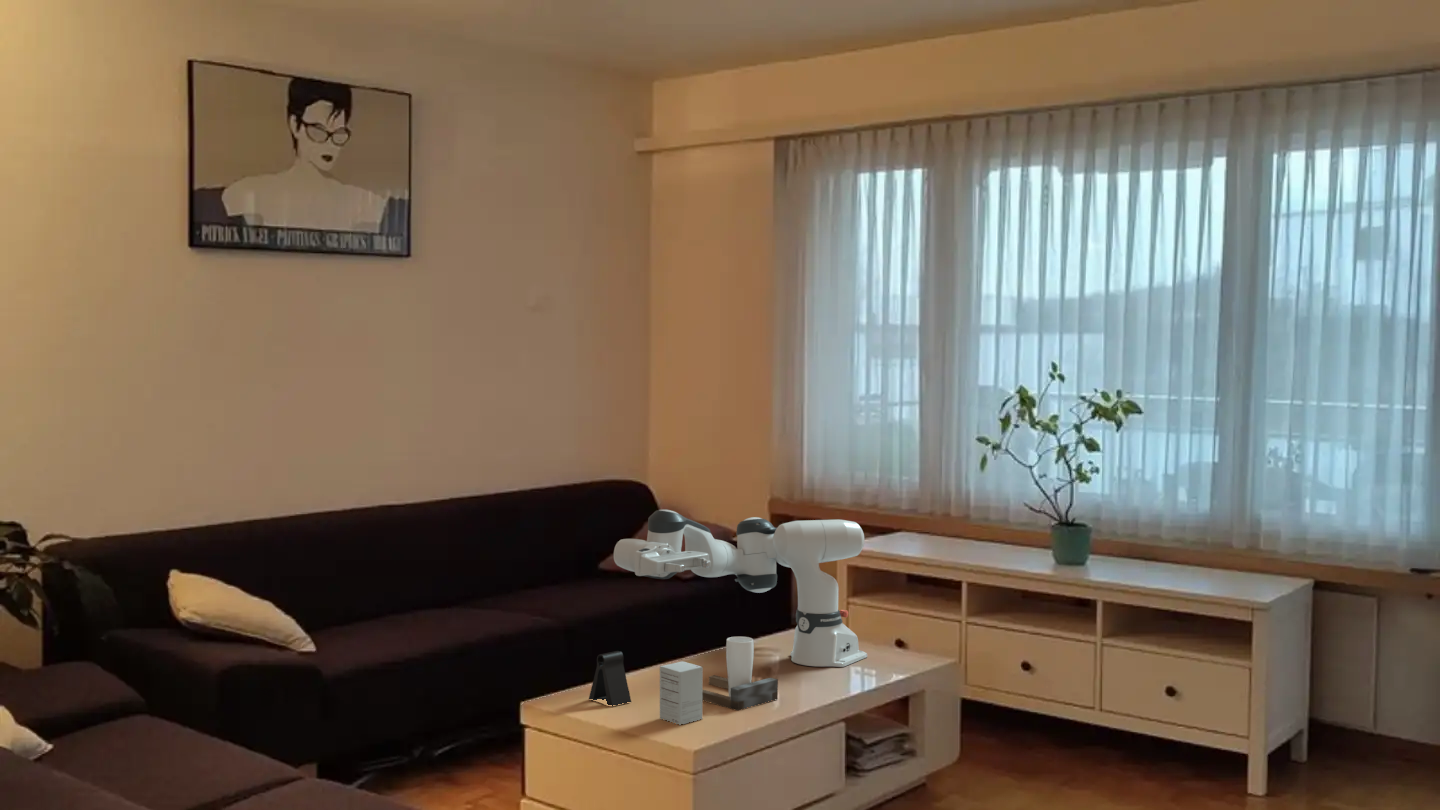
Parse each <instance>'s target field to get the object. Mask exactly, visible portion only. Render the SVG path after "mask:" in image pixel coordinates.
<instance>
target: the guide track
mask: <svg viewBox="0 0 1440 810" xmlns="http://www.w3.org/2000/svg"><path fill="white" fill-rule="evenodd" d="M778 681H779V680H778V679H776V678H773V677H768V678H764V679H760V680H756V681H751V683H748V684H744V685H740V686H736V687H732V688H731V697H729V695H725V694H721V693H719V692H714V691H710V690H706V689H703V688H702V701H703V700H704V701H703V702H706V701H707V703H710V702H711V703H710V704H713V703H714V704H713V705H717V704H718V705H717V706H720V705H721V707H725V708H727V707H728V708H727V709H731V710H734V709H735V711H741V709H742V710H745V709H748V708H747V707H749V708H752V707H751V706H753V707H755V705H756V706H759V705H758V704H760V705H763V704H762V703H764V704H766V703H765V702H767V703H769V702H768V701H771V700H774V701H776V700H775V699H778V692H779V691H778V687H779V682H778ZM708 685H712V686H714V687H718V688H721V687H722V689H726V690H729V687H728V677H723V676H719V675H715V674H714V675H709V676H708ZM771 702H772V701H771ZM744 708H745V709H744Z"/></svg>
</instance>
